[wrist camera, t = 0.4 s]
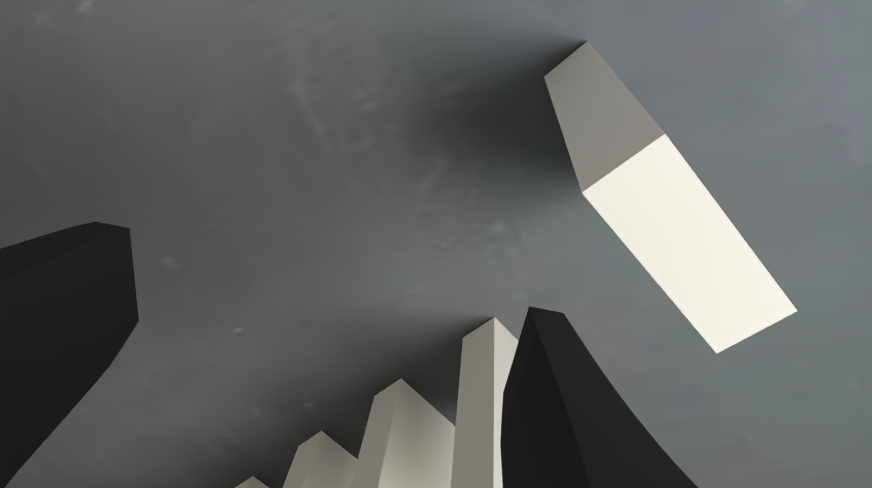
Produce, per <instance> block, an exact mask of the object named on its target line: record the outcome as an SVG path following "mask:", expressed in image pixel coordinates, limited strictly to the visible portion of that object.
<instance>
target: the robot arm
mask: <svg viewBox="0 0 872 488" xmlns="http://www.w3.org/2000/svg"><path fill="white" fill-rule="evenodd" d="M138 321H139V319H138V309H137V299H136V289H135V279H134V269H133V259H132V249H131V239H130V229H129V228H125V227H120V226H115V225H110V224H105V223H100V222H92V223H87V224H83V225H79V226H75V227H71V228H67V229H64V230H60V231H57V232H53V233H50V234H47V235H44V236H40V237H37V238H34V239H31V240H27V241H24V242H21V243H18V244H15V245H12V246H8V247H5V248H2V249H0V488H4V487H5V486H6V485H7V484H8V482H9V481H10V480H11V479H12V477H13V476H14V475H15V474H16V473H17V471H18V470H19V469H20V468H21V467H22V466H23V465H24V463H25V462H26V461H27V460H28V459H29V458H30V457H31V455H32V454H33V453H34V452H35V451H36V450H37V449H38V448H39V446H40V445H41V444H42V443H43V442H44V441H45V440H46V438H47V437H48V436H49V435H50V434H51V433H52V432H53V431H54V429H55V428H56V427H57V426H58V425H59V424H60V423H61V422H62V420H63V419H64V418H65V417H66V416H67V415H68V414H69V412H70V411H71V410H72V409H73V408H74V407H75V406H76V405H77V403H78V402H79V401H80V400H81V399H82V398H83V396H84V395H85V394H86V393H87V392H88V391H89V390H90V388H91V387H92V386H93V385H94V384H95V383H96V381H97V380H98V379H99V378H100V377H101V376H102V374H103V373H104V372H105V371H106V370H107V368H108V367H109V366H110V364H111V363H112V361H113V360H114V359H115V357H116V356H117V354H118V353H119V351H120V350H121V348H122V347H123V345H124V344H125V342H126V340H127V339H128V337H129V336H130V334H131V332H132V331H133V329H134V328H135V326H136V324H137V323H138ZM500 448H501V466H502V482H503V488H698V487H697V486H696V485H695V484H694V483H693V482H692V481H691V480H690V479H689V478H688V477H687V476H686V475H685V474H684V472H683V471H682V470H681V469H680V468H679V467H678V466H677V465H676V464H675V463H674V462H673V461H672V459H671V458H670V457H669V456H668V455H667V454H666V453H665V452H664V450H663V449H662V448H661V447H660V446H659V445H658V443H657V442H656V441H655V440H654V438H653V437H652V436H651V435H650V434H649V432H648V431H647V430H646V429H645V427H644V426H643V425H642V424H641V423H640V421H639V420H638V419H637V418H636V416H635V415H634V414H633V413H632V411H631V410H630V409H629V407H628V406H627V405H626V403H625V402H624V401H623V399H622V398H621V397H620V395H619V394H618V393H617V391H616V390H615V389H614V387H613V386H612V384H611V383H610V382H609V380H608V379H607V377H606V376H605V375H604V373H603V372H602V370H601V369H600V367H599V366H598V365H597V363H596V362H595V360H594V359H593V357H592V356H591V354H590V353H589V351H588V350H587V348H586V347H585V345H584V344H583V342H582V341H581V339H580V338H579V336H578V335H577V333H576V331H575V330H574V328H573V327H572V325H571V324H570V322H569V321H568V319H567V318H566V316H565V315H564V314H563V313H560V312H555V311H550V310H545V309H540V308H535V307H530V306H529V309H528V312H527V315H526V319H525V322H524V325H523V329H522V332H521V335H520V339H519V342H518V345H517V348H516V352H515V355H514V358H513V362H512V365H511V368H510V372H509V375H508V378H507V381H506V385H505V388H504V391H503V403H502V419H501V438H500Z"/></svg>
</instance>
